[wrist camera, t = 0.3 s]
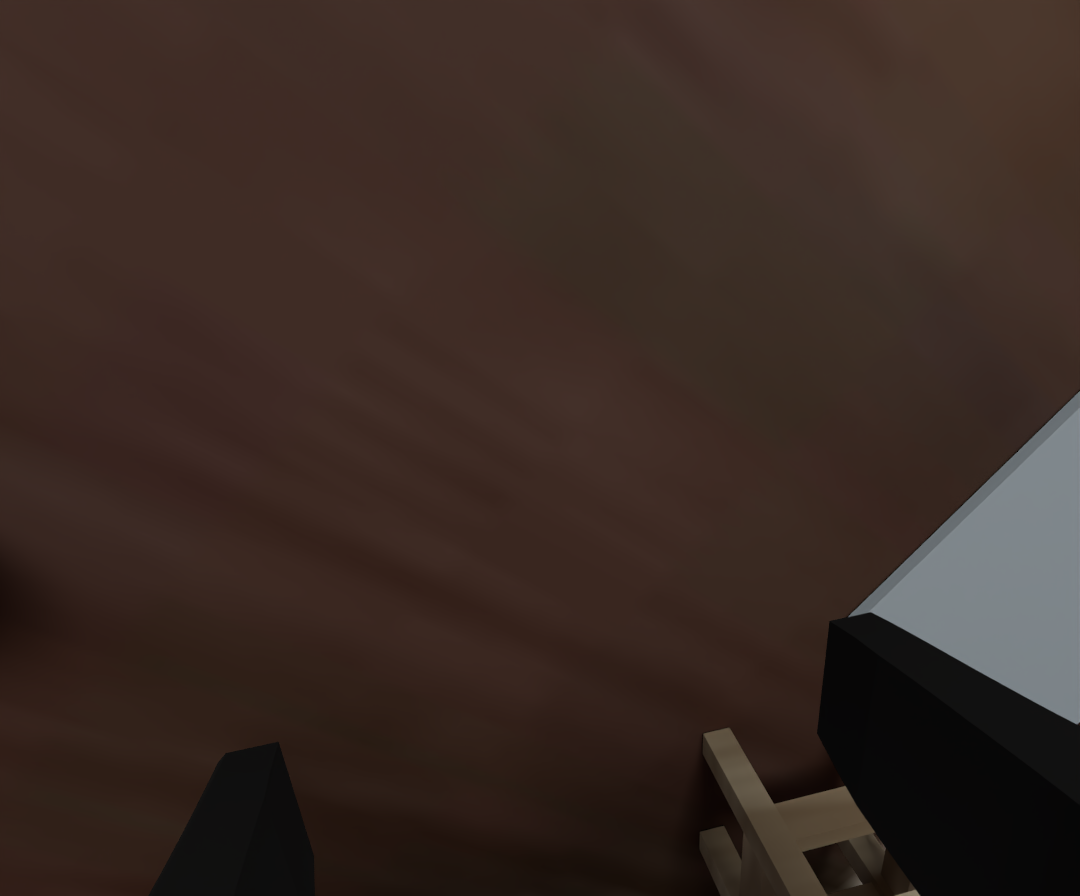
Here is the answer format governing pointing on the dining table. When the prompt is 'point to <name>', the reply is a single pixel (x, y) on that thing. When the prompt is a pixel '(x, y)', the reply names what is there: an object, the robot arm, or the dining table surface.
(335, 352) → the dining table surface
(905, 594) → the rubber mat
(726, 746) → the pine stool
